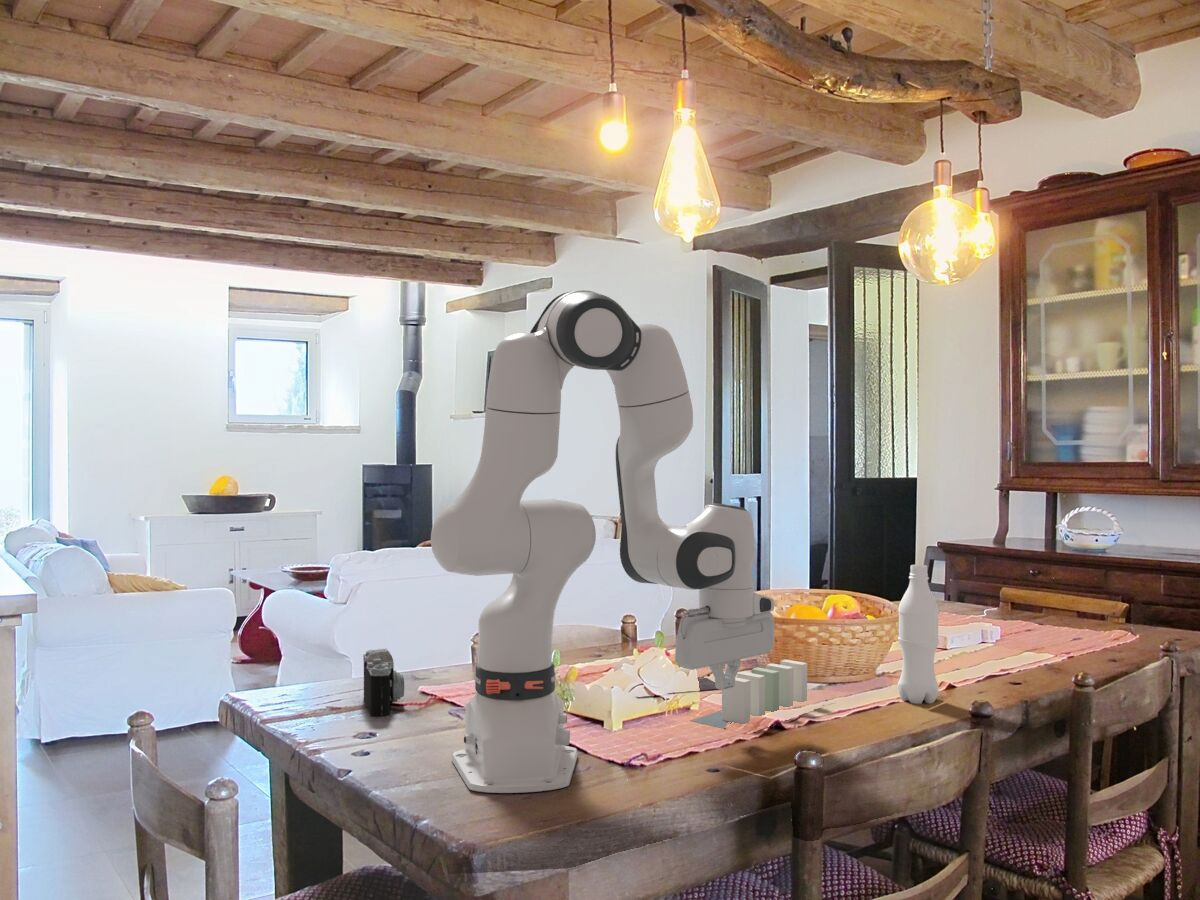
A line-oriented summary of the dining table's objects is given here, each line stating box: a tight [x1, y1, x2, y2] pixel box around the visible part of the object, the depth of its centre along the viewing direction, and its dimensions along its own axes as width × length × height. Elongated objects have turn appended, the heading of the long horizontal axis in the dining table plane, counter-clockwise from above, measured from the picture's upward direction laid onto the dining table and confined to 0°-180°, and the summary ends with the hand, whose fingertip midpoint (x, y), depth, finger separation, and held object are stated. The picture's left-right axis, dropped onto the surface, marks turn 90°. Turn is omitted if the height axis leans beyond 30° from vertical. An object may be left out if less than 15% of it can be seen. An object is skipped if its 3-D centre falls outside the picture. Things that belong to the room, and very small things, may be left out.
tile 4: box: [765, 663, 794, 707], centre depth 186 cm, size 2×5×7 cm, turn 47°
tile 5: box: [779, 658, 808, 702], centre depth 190 cm, size 2×5×7 cm, turn 47°
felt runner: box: [689, 709, 777, 729], centre depth 183 cm, size 28×12×1 cm, turn 137°
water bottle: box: [897, 564, 940, 705], centre depth 191 cm, size 7×7×25 cm
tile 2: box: [736, 671, 765, 716], centre depth 180 cm, size 2×5×7 cm, turn 47°
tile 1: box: [721, 676, 751, 724], centre depth 176 cm, size 2×5×7 cm, turn 47°
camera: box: [363, 648, 405, 718], centre depth 187 cm, size 15×7×10 cm, turn 18°
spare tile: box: [751, 666, 779, 712], centre depth 183 cm, size 2×5×7 cm, turn 46°
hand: (724, 687), depth 169 cm, fingers closed
